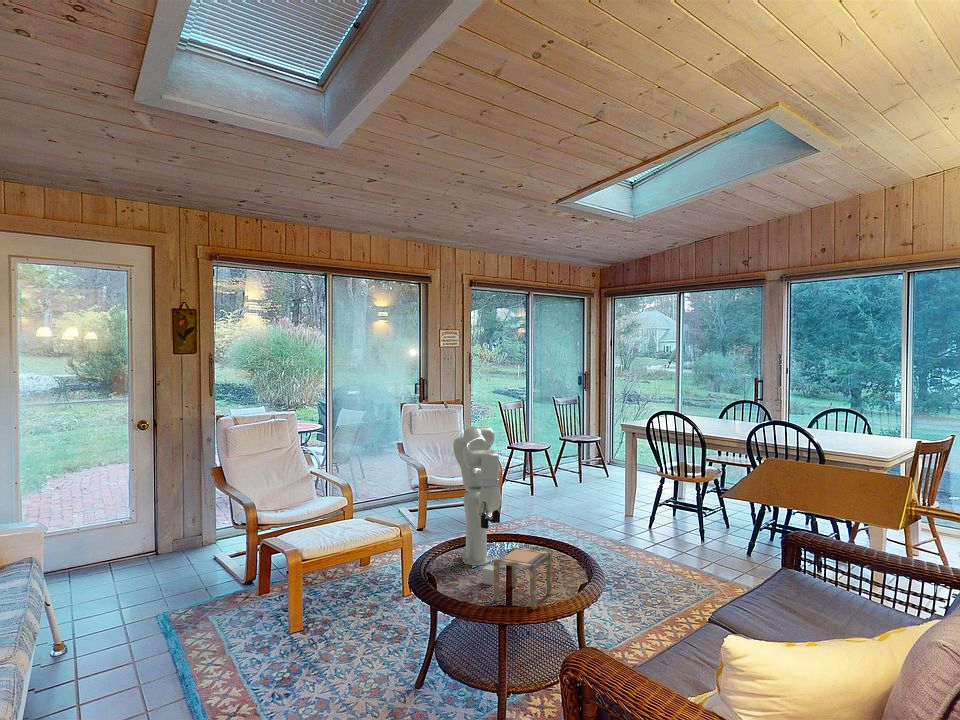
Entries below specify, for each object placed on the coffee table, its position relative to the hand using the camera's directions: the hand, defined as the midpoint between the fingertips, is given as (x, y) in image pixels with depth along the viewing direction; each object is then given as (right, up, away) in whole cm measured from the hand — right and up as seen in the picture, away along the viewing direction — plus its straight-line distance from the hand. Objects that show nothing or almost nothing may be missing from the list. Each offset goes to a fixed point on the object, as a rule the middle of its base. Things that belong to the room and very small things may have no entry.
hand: (490, 525), depth 217 cm
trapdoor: (+12, -8, -15) cm, 21 cm away
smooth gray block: (0, -23, 0) cm, 23 cm away
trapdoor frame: (+12, -23, -16) cm, 30 cm away
